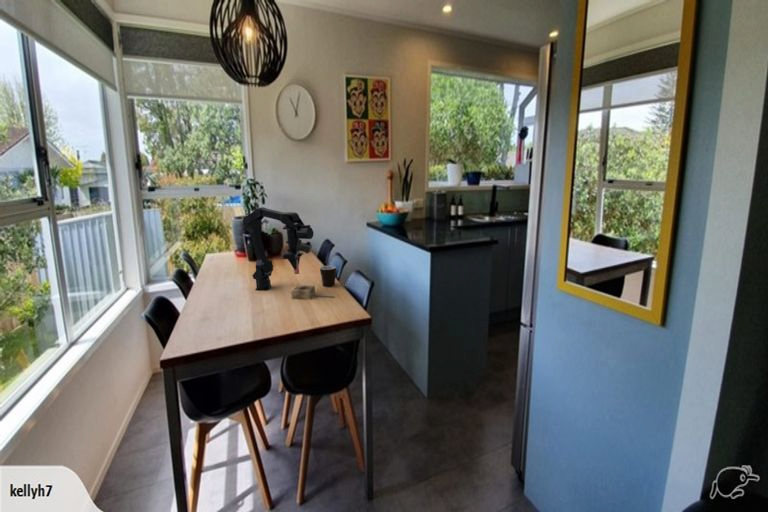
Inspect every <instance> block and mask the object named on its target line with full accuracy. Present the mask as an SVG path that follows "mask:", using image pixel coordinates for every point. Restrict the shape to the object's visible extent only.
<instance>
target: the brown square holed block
mask: <svg viewBox="0 0 768 512" xmlns="http://www.w3.org/2000/svg"><path fill="white" fill-rule="evenodd" d="M315 287H316V286H315V285H307V284H306V285H302V284H301V285H296V286H295V287H294V288H293V289H292V290H291V299H292V300H311V298H312V297H314V296H313V295H316V290H315V289H316V288H315Z"/></svg>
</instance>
